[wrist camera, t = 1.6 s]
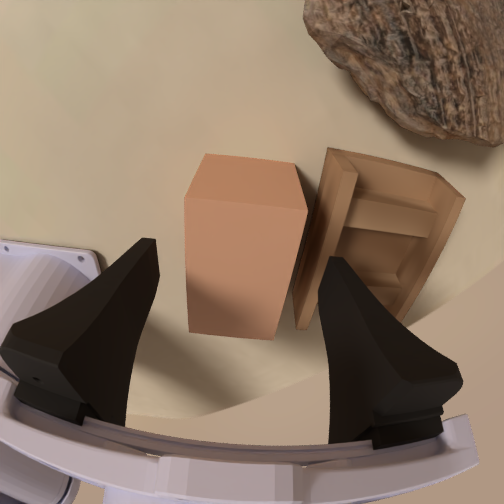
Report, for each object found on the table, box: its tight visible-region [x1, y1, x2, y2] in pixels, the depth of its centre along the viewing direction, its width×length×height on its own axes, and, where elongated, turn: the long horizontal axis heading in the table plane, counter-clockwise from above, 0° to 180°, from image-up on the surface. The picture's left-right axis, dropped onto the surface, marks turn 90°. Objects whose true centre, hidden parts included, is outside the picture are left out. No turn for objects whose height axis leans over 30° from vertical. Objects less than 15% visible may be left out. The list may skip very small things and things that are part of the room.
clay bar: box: [184, 154, 308, 340], centre depth 13 cm, size 7×4×4 cm, turn 173°
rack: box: [292, 148, 466, 330], centre depth 14 cm, size 9×6×3 cm
